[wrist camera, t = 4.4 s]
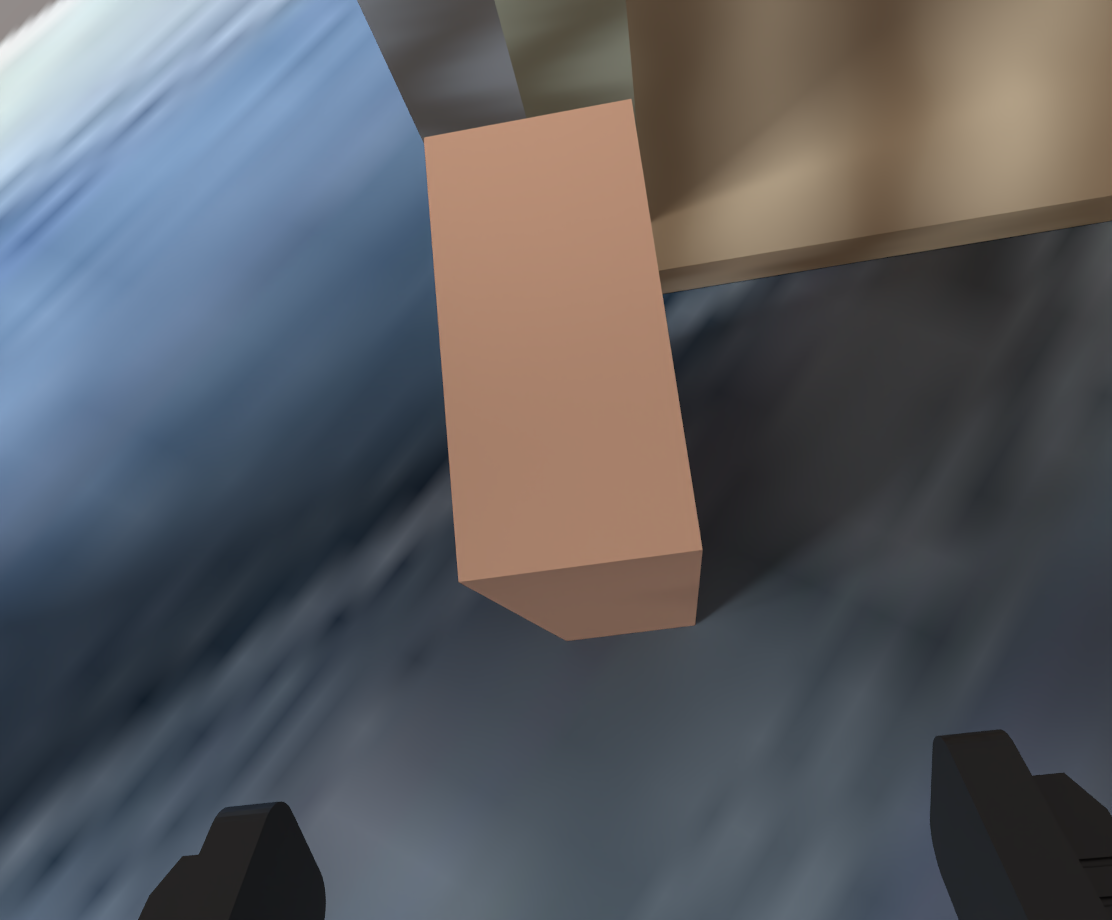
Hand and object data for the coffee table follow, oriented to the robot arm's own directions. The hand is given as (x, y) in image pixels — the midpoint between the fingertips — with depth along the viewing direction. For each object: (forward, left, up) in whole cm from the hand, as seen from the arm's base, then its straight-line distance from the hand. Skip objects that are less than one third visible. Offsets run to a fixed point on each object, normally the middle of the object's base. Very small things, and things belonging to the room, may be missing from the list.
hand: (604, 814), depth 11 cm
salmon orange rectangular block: (+6, +3, -13) cm, 14 cm away
